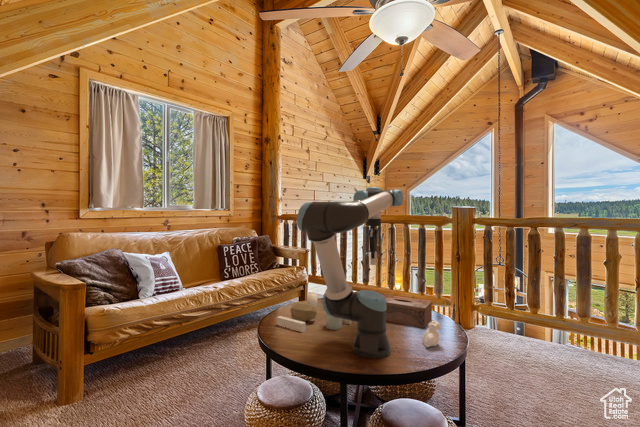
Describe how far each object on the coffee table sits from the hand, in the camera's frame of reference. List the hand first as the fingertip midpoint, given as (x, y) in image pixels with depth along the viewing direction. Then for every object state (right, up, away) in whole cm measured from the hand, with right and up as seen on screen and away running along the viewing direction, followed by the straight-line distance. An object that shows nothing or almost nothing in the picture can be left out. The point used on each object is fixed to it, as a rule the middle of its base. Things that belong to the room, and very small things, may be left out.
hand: (373, 264), depth 163 cm
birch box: (-13, -30, +3) cm, 32 cm away
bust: (+20, -30, -26) cm, 45 cm away
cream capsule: (-31, -29, +29) cm, 51 cm away
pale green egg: (-20, -30, -5) cm, 36 cm away
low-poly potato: (-35, -30, +2) cm, 46 cm away
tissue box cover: (+17, -30, +5) cm, 35 cm away
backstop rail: (-41, -30, -7) cm, 51 cm away
